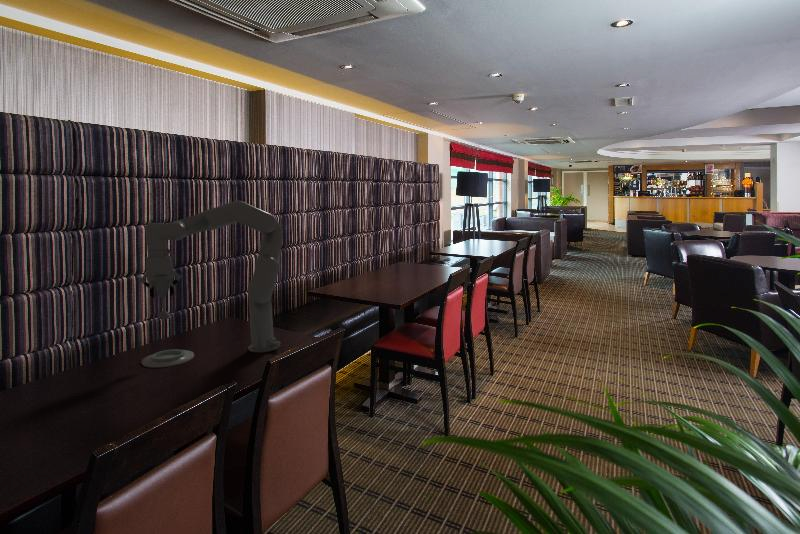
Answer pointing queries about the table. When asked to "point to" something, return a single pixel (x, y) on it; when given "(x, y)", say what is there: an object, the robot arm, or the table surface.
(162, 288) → the chalice
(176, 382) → the table surface
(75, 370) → the table surface
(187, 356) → the plate
